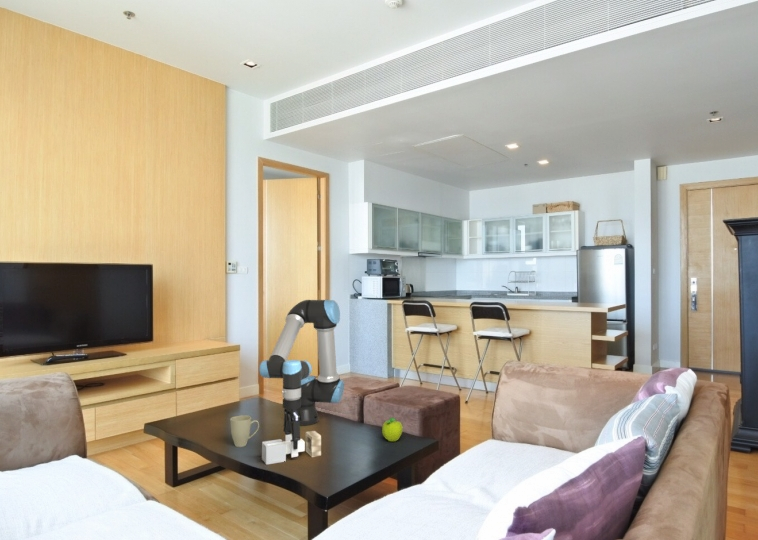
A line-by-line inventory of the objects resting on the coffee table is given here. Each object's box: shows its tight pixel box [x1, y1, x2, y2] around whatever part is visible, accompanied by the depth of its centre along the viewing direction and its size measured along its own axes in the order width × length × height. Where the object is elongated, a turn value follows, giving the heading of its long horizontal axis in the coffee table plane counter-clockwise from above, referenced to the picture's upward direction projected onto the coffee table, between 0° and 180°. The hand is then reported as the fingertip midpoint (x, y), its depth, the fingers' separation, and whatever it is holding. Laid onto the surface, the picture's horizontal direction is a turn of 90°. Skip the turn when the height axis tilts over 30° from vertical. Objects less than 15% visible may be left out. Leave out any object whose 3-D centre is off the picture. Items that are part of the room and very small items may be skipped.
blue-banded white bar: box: [267, 438, 306, 455], centre depth 201 cm, size 15×4×4 cm, turn 118°
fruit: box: [381, 417, 404, 442], centre depth 224 cm, size 9×9×10 cm
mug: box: [229, 414, 260, 448], centre depth 218 cm, size 11×10×12 cm
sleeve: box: [261, 438, 287, 465], centre depth 199 cm, size 8×7×7 cm
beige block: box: [305, 430, 322, 458], centre depth 207 cm, size 4×8×8 cm, turn 28°
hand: (291, 453), depth 202 cm, fingers open, 8 cm apart
